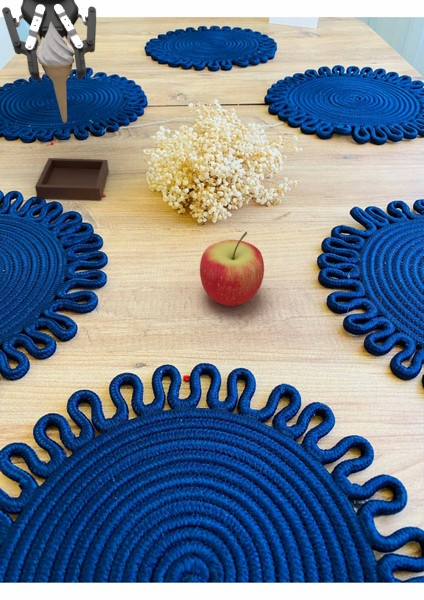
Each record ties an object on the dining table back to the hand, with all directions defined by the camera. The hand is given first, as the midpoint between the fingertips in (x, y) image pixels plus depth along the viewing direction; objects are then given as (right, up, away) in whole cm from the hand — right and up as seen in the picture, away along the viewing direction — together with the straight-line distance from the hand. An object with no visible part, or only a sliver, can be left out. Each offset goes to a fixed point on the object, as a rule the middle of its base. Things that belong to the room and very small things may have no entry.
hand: (58, 77), depth 80 cm
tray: (-1, -13, +13) cm, 19 cm away
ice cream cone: (-1, -5, +7) cm, 8 cm away
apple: (+25, -33, -8) cm, 43 cm away
